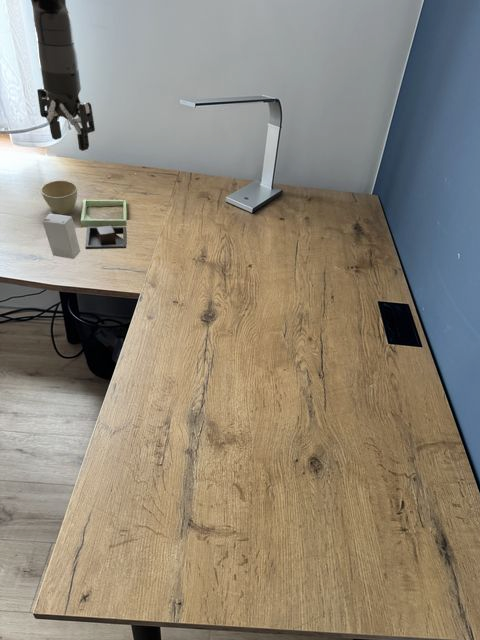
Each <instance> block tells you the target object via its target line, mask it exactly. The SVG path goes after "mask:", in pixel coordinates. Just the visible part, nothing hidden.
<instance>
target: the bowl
mask: <svg viewBox="0 0 480 640" xmlns="http://www.w3.org/2000/svg"><path fill="white" fill-rule="evenodd" d="M40 193H41V195H42V198H43V199H44V202H45V203H46V204H47V206H49V209H51V210H52V211H53V212H54V213H55V214H57V215H68V214H70V213H72V212H73V210H74V208H75V206H76V203H77V198H78V186H77V185H76V184H75V183H74V182H72V181H69V180H53V181H49V182H46V183H44V184H43V185H42V186H41V188H40ZM67 213H68V214H67Z"/></svg>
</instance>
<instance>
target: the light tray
mask: <svg viewBox="0 0 480 640" xmlns="http://www.w3.org/2000/svg"><path fill="white" fill-rule="evenodd" d="M81 206H82V208H81V215H80V225H81V228H87V227H103V226H112V227H127V226H128V225H127V213H128V212H127V200H126V199H83V200H82V205H81ZM112 206H113V207H115V206H116V207H117V206H118V207H119V206H122V207H123V210H122V213H123V216H122V218H120V219H118V218H99V219H98V218H92V217H91V216H90V215H88V214H87V207H112Z"/></svg>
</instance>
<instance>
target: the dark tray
mask: <svg viewBox="0 0 480 640" xmlns="http://www.w3.org/2000/svg"><path fill="white" fill-rule="evenodd" d="M112 228H113V230H114V232H115V239H116V245H100V243H99V241H98V235H97V227H86V235H85V245H84V249H85V250H115V249H116V250H117V249H118V250H119V249H127V243H128V240H127V238H128V237H127V236H128V235H127V233H128V231H127V226H112ZM119 235H122V237H121V236H119Z"/></svg>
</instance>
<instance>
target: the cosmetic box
mask: <svg viewBox="0 0 480 640" xmlns="http://www.w3.org/2000/svg"><path fill="white" fill-rule="evenodd" d="M43 219H44V220H43V221H42V225H43V228H44V232H45V235H46V238H47V241H48V244H49V248H50V251H51V255H52V257H53V256H54V257H59V258H65V259H70V260H75V259H76V257H77V256H78V255H79V254H80V253H81V248H80V244H79V239H78V236H77V233H76V228H75V225H74V221H73V216H70V215H65V214H58V213H49V214H47V216H46V217H45V218H43Z"/></svg>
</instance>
